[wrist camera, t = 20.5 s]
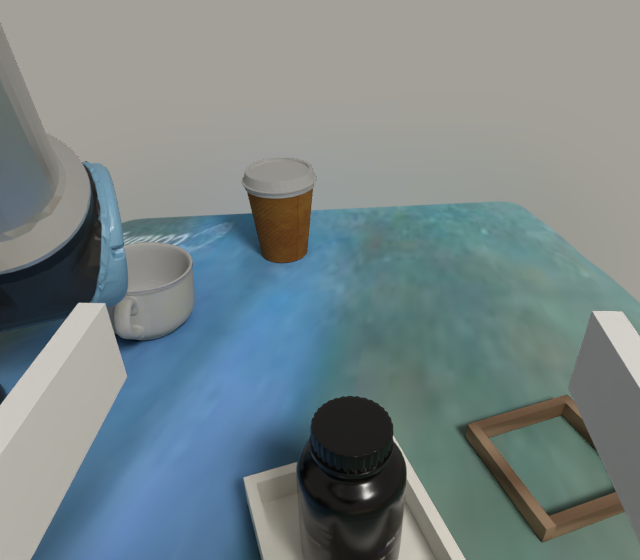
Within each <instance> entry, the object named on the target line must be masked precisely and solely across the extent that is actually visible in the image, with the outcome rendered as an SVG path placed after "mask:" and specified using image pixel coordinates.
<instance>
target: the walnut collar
mask: <svg viewBox="0 0 640 560" xmlns="http://www.w3.org/2000/svg"><path fill="white" fill-rule="evenodd" d="M561 415H563V416H564V417H565V418H566V420H567V421H568V422H569V423H570V424H571V425H572V426H573V427H574V428H575V429H576V430H577V431H578V432H579V433H580V434H581V435H582V436H583V437H584V438H585V439H586V440H587V441H588V442H589V443H590V444H591V445H592V446H593V447H594V448H595V449H596V447H595V445H594V443H593V441H592V439H591V437H590V434H589V432H588V430H587V428H586V426H585V424H584V421H583V419H582V417H581V415H580V413H579V411H578V408H577V406H576V404H575V402H574V401H573V400H572V399H571V398H570V397H569V396H568V395H564V396H561V397H557V398H554V399H550V400H547V401H544V402H540V403H537V404H534V405H530V406H527V407H523V408H520V409H517V410H513V411H510V412H507V413H503V414H500V415H496V416H493V417H490V418H486V419H483V420H480V421H476V422H473V423H469V424H467V429H466V434H465V437H466V438H467V440H468V441H469V442H470V444H471V445H472V446H473V448H474V449H475V451H476V452H477V453H478V455H479V456H480V457H481V459H482V460H483V462H484V463H485V464H486V466H487V467H488V468H489V470H490V471H491V473H492V474H493V475H494V477H495V478H496V479H497V481H498V482H499V484H500V485H501V486H502V488H503V489H504V490H505V492H506V493H507V495H508V496H509V497H510V499H511V500H512V501H513V503H514V504H515V506H516V507H517V508H518V510H519V511H520V512H521V514H522V515H523V517H524V518H525V519H526V521H527V522H528V523H529V525H530V526H531V528H532V529H533V530H534V532H535V533H536V534H537V536H538V537H539V539H540V540H541V541H542V542H545V541H547V540H550V539H553V538H555V537H558V536H561V535H563V534H566V533H569V532H571V531H574V530H577V529H579V528H582V527H585V526H587V525H590V524H593V523H595V522H598V521H601V520H603V519H606V518H609V517H611V516H614V515H617V514H619V513H622V512H625V510H624V508H623V506H622V504H621V502H620V500H619V497H618V495H617V493H616V492H614V493H611V494H609V495H606V496H603V497H600V498H598V499H595V500H592V501H589V502H586V503H584V504H581V505H578V506H575V507H573V508H570V509H567V510H564V511H562V512H559V513H556V514H553V515H551V516H548V515H547V513H546V512H545V511H544V510H543V508H542V507H541V506H540V504H539V503H538V502H537V501H536V499H535V498H534V497H533V495H532V494H531V493H530V491H529V490H528V489H527V488H526V486H525V485H524V484H523V482H522V481H521V480H520V479H519V477H518V476H517V475H516V473H515V472H514V471H513V469H512V468H511V467H510V466H509V464H508V463H507V462H506V460H505V459H504V458H503V457H502V455H501V454H500V453H499V451H498V450H497V449H496V447H495V446H494V445H493V444H492V442H491V441H490V440H489V437H493V436H496V435H499V434H503V433H506V432H509V431H512V430H516V429H519V428H522V427H525V426H529V425H532V424H535V423H538V422H542V421H545V420H548V419H551V418H555V417H558V416H561Z"/></svg>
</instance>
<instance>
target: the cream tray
mask: <svg viewBox="0 0 640 560" xmlns="http://www.w3.org/2000/svg"><path fill="white" fill-rule="evenodd" d="M393 441H394V442H395V443H396V445H397V446H398V447H399V449H400V451H401V452H402V455H403V457H404V460H405V463H406V469H407V482H406V492H405V503H404V513H403V524H402V534H401V544H400V551H399V557H398V560H465V558H464V556H463V554H462V553H461V551H460V549H459V548H458V546H457V544H456V542H455V541H454V539H453V537H452V536H451V534H450V532H449V530H448V529H447V527H446V525H445V523H444V522H443V520H442V518H441V517H440V515H439V513H438V511H437V510H436V508H435V506H434V505H433V503H432V501H431V499H430V498H429V496H428V494H427V492H426V491H425V489H424V487H423V486H422V484H421V482H420V480H419V479H418V477H417V475H416V474H415V472H414V470H413V468H412V467H411V465H410V463H409V461H408V460H407V458H406V456H405V455H404V453H403V451H402V449H401V448H400V446H399V444H398V443H397V441H396V439H395V437H394V436H393ZM296 467H297V462H295V463H292V464H288V465H285V466H281V467H278V468H274V469H271V470H267V471H264V472H261V473H257V474H254V475H250V476H247V477H243V479H244V485H245V491H246V497H247V503H248V507H249V511H250V515H251V520H252V524H253V528H254V532H255V536H256V540H257V544H258V548H259V552H260V556H261V560H304V558H303V554H302V548H301V539H300V525H299V510H298V495H297V480H296Z"/></svg>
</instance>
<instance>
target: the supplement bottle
mask: <svg viewBox="0 0 640 560" xmlns="http://www.w3.org/2000/svg"><path fill="white" fill-rule="evenodd" d="M310 430H311V435H310V439H309V440H308V441H307V442H306V444H305V445H304V447H303V448H302V450H301V452H300V454H299V457H298V461H297V467H296V480H297V495H298V510H299V525H300V539H301V548H302V554H303V558H304V560H398V557H399V551H400V544H401V534H402V524H403V513H404V503H405V492H406V482H407V469H406V463H405V460H404V457H403V455H402V452H401V451H400V449H399V447H398V446H397V445H396V443H395V442H394V441H393V424H392V422H391V418H390V417H389V416H388V413H387V412H386V411H385V410H384V408H383V407H381V406H380V405H379V404H378V403H375V402H373V401H372V400H368V399H366V398H361V397H358V396H356V397H353V396H348V397H340V398H335V399H333V400H330V401H328V402H327V403H325V404H323V405H322V407H320V408H318V410H317V412H316V413H315V414H314V417H313V418H312V421H311V427H310Z"/></svg>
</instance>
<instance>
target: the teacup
mask: <svg viewBox="0 0 640 560" xmlns="http://www.w3.org/2000/svg"><path fill="white" fill-rule="evenodd" d="M123 248H124V249H125V253H126V259H127V268H128V290H127V293H126V295H125V297H124V299H123V300H122V301H121V302H120V303H118V304H116V305H114V306H112V307H108V308H107V311H108V314H109V318H110V321H111V324H112V328H113V331H114V333H115V334H117V335H118V336H120V337H121V338H123V339H134V340H152V339H157V338H160V337H163V336H165V335H167V334H169V333H171V332H173V331H174V330H175V329H176V328H178V327H179V326H180V325H182V324H183V323H184V322H185V321H186V320H187V319H188V317H189V316H190V314H191V312H192V310H193V306H194V281H193V271H192V266H193V261H192V257H191V256H190V254H189V253H188V252H187V251H186V250H184V249H182V248H180V247H178V246H175V245H171V244H165V243H157V242H148V243H135V244H129V245H125V246H124V247H123Z"/></svg>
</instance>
